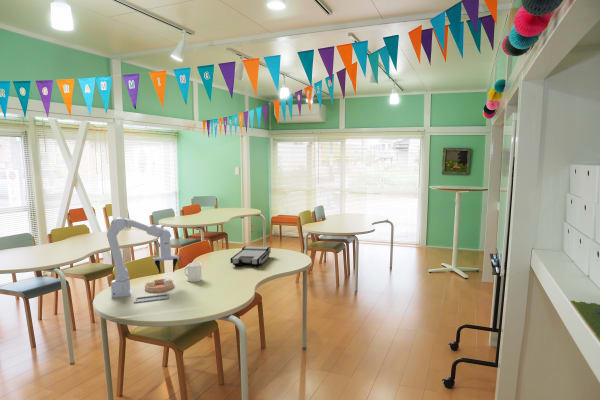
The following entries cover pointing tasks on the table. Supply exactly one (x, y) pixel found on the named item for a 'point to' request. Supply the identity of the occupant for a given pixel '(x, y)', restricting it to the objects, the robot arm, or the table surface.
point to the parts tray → (151, 298)
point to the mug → (193, 272)
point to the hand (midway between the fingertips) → (166, 272)
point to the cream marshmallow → (151, 283)
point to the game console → (251, 256)
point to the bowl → (159, 286)
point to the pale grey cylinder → (167, 282)
